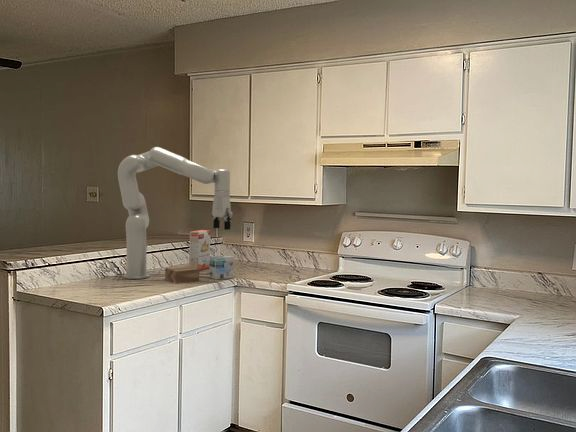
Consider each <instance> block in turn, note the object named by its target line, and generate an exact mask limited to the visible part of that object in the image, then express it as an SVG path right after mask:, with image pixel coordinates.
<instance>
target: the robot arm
mask: <svg viewBox="0 0 576 432" xmlns="http://www.w3.org/2000/svg"><path fill="white" fill-rule="evenodd" d="M155 167H156V168H157V167H161V168H164V169H166V170H168V171H171V172H173V173H176V174H178V175H182V176H184V177H187V178H189V179H191V180H195V181H196V182H199V183H201V184H204V185H209V184H214V189H213V190H214V192H213V193H214V195H213V196H214V197H213V201H212V210H211V216H212V220H213V225H212V226H213V229H219V228H220V219H221V218H223V219H224V223H223V225H224V226H223V228H224V230H226V231H227V230H231V222H232V218H233V215H234V214H233V213H234V212H233V211H232V210H231V207H232V206H231V198H230V197H231V196H230V194H231V191H230V189H231V187H230V186H231V185H230V184H231V171H230V170H229V169H223V168H220V169H219V168H217V169H212V168H208V167H205V166H202V165H201V164H198V163H195V162H193V161H191V160H189V159H187V157H184V156H182V155H180V154H177V153H174V152H172V151H170V150H168V149H165V148H163V147H160V146H153V147H152V148H151V149H150V150H149V151H146V152H142V153H140V154H130V155H128V156H126V157H125V158H124V159H123V160H122V161H120V163H119V166H118V169H117V180H118V186H119V190H120V194H121V200H122V205H123V207H124V208H125V209H126V210H127V212H128V217H127V218H126V221H125V234H126V235H125V236H126V268H125V271H126V273H124V274H123V275H122V277H123V278H124V279H128V280H141V279H142V280H143V279H147V278H150V274H149V273H147V255H148V254H147V253H148V252H147V248H148V247H147V243H148V242H147V228H148V227H149V224H150V217H149V216H150V215H149V211H148V208H147V203H146V199H145V196H144V194H143V193H141V192H140V191H139V186H138V180H137V177H136V175H137V173H141V172H145V171H147V170H151V169H154V168H155Z"/></svg>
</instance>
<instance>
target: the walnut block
mask: <svg viewBox="0 0 576 432" xmlns="http://www.w3.org/2000/svg"><path fill="white" fill-rule="evenodd" d="M164 270H165V271H164V273H165V274H164V280H165V281H167V282H171V283H174V282H175V283H174V284H183V283H185V282H186V283H193V282H194V283H195V282H200V270H199V269H196V268H192V267H189V265H188V266H187V265H185V266H173V267H172V266H171V267H165V269H164ZM186 283H185V284H186Z"/></svg>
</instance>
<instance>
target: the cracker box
mask: <svg viewBox="0 0 576 432" xmlns="http://www.w3.org/2000/svg"><path fill="white" fill-rule="evenodd" d="M210 252H211V230H209V229H207V230H206V229H199V230H194V231H189V252H188V254H189V259H188V261H189V262H188V266H189V267H192V268H196V269H199V271H201V270H202V271H203V270H205V269H209V267H210Z"/></svg>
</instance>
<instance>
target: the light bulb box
mask: <svg viewBox="0 0 576 432" xmlns="http://www.w3.org/2000/svg"><path fill="white" fill-rule="evenodd" d="M234 260H235V256H231V255H228V254H227V255H211V256H210V265H209V268H208V269H209V270H208V271H209V272H208V273H209V278H211V279H214V280H221V279H222V280H224V279H234V268H235V267H234V266H235V262H234Z"/></svg>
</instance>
